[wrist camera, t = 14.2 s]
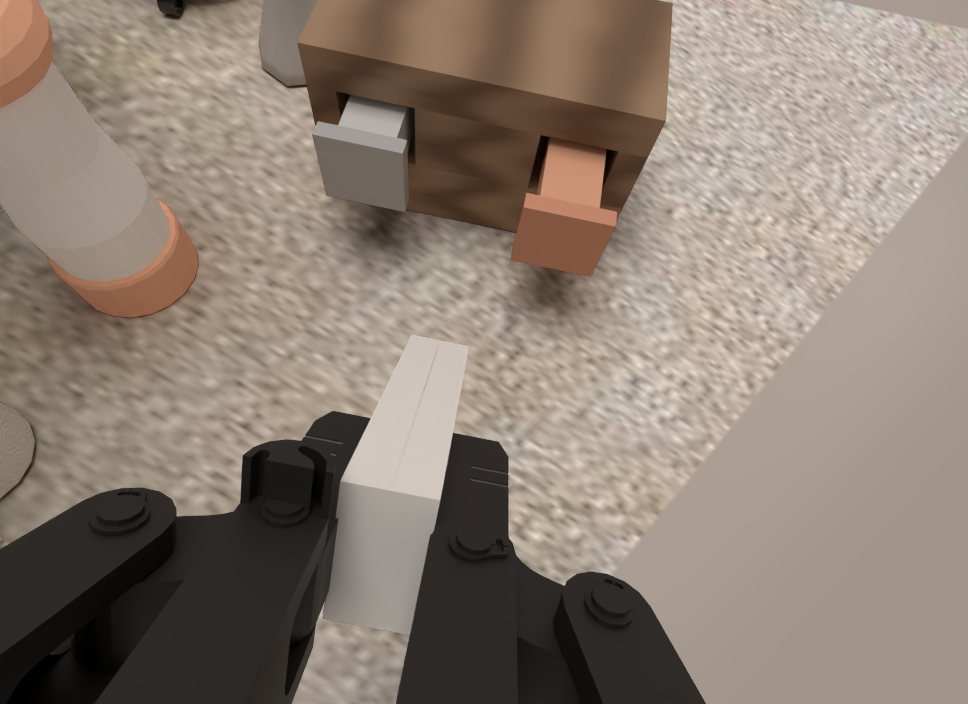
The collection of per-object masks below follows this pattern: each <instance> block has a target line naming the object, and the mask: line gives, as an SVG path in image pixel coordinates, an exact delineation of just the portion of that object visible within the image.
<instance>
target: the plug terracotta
mask: <svg viewBox="0 0 968 704" xmlns="http://www.w3.org/2000/svg"><path fill="white" fill-rule="evenodd" d="M606 150H607V149H605V148H600V147H595V146H591V145H586V144H581V143H576V142H572V141H567V140H562V139H558V138H553V137H548V136H547V138H546V144H545V149H544V155H543V160H542V166H541V172H540V177H539V183H538V188H537V194H536V195H535V194H530V193H526V197H525V201H524V205H523V209H522V213H521V217H520V221H519V225H518V229H517V233H516V237H515V241H514V245H513V250H512V255H511V260H512V261H517V262H522V263H527V264H532V265H536V266H541V267H546V268H551V269H556V270H560V271H565V272H570V273H575V274H579V275H584V276H589V277H591V275H592V273H593V271H594V269H595V267H596V265H597V263H598V261H599V259H600V257H601V255H602V253H603V251H604V249H605V247H606V245H607V243H608V241H609V239H610V237H611V235H612V233H613V231H614V229H615V227H616V219H617V212H615V211H611V210H606V209H601V208H600V201H601V193H602V184H603V175H604V167H605V158H606Z"/></svg>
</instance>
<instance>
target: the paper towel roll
mask: <svg viewBox="0 0 968 704" xmlns="http://www.w3.org/2000/svg"><path fill="white" fill-rule="evenodd" d="M34 445H35V439H34V436H33V433H32V430H31V427H30V424H29V422H28V421H27V420H26V419H25V418H24V417H22V416H21V415H20V414H19V413H18V412H17V411H16V410H15V409H13V408H11V407H9V406H7V405H5V404H3V403H1V402H0V498H1V497H3V496H4V495H5V494H6V493H7V492H8V491H9V490H11V489H12V488H13V487H14V486H15V485H16V484H17V483H18V482H20V480H21V478H22V477H23V475H24V473H25V472H26V470H27V468H28V467H29V465H30V463H31V462H32V457H33V451H34ZM2 540H3V539H2V538H1V537H0V541H2Z"/></svg>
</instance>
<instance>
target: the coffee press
mask: <svg viewBox="0 0 968 704" xmlns="http://www.w3.org/2000/svg"><path fill="white" fill-rule="evenodd" d="M157 3H158V7H159V9H160V11H161V12H162V13H164V14H169V15H175V16H182V14H183V11H184V0H157Z"/></svg>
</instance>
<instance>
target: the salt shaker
mask: <svg viewBox="0 0 968 704" xmlns="http://www.w3.org/2000/svg"><path fill="white" fill-rule="evenodd" d="M0 205H1V206H2V208H3V209H4V211H5V212H6V213H7V215H8V216H9V218H10V219H11V220H12V222H13V223H14V225H15V226H16V227H17V229H18V230H19V231H20V232H21V233H22V234H24V235H25V236H26V237H27V238H28V239H29V240H30V241H32V242H33V243H34V244H35V245H36V246H37V247H38V248H39V249H41V250H42V251H43V252H44V253H45V254H46V255H47V257H48V259H49V262H50V264H51V266H52V268H53V270H54V272H55V273H56V274H57V275H58V276H60V277H61V278H62V279H63V280H64V281H65V282H66V283H67V284H68V285H69V286H70V287H72V288H73V289H74V290H75V291H76V292H77V293H78V294H79V295H80V296H81V297H82V298H84V299H85V300H86V301H87V302H88V303H89V304H90V305H92V306H93V307H94V308H95V309H96V310H98V311H101V312H103V313H106V314H109V315H112V316H117V317H138V316H143V315H148V314H153V313H155V312H157V311H159V310H161V309H163V308H165V307H168V306H170V305H171V304H172V303H174V302H175V301H176V300H177V299H178V298H180V297H181V296H182V295H183V294H185V292H186V291H187V289H188V288H189V286H190V285H191V283H192V282H193V281H194V279H195V275H196V271H197V268H198V258H197V250H196V249H195V247H194V245H193V244H192V242H191V240H190V238H189V237H188V235H187V234H186V232H185V230H184V229H183V227H182V226H181V224H180V223H179V221H178V219H177V218H176V216H175V215H174V213H173V211H172V210H171V208H170V207H169V206H168V205H166V204H165V203H164V202H162V201H161V200H160V199H159V198H157V197H155V195H154V193H153V192H152V190H151V188H150V187H149V185H148V183H147V182H146V180H145V178H144V177H143V175H142V173H141V172H140V170H139V168H138V167H137V166H136V165H135V164H134V163H133V162H132V161H131V160H130V159H129V157H128V156H127V155H126V154H125V153H124V152H123V151H122V150H121V149H120V148H119V147H118V146H117V145H116V144H115V143H114V142H113V141H112V139H111V138H110V137H109V136H108V135H107V134H106V133H105V132H104V131H103V130H102V129H101V128H100V127H99V126H98V125H97V124H96V123H95V122H94V120H93V119H92V118H91V116H90V115H89V114H88V112H87V111H86V109H85V108H84V106H83V105H82V103H81V102H80V100H79V99H78V97H77V96H76V95H75V93H74V92H73V90H72V89H71V87H70V86H69V84H68V83H67V81H66V80H65V79H64V77H63V76H62V74H61V73H60V71H59V70H58V68H57V67H56V65H55V64H54V63H53V42H52V32H51V28H50V24H49V20H48V18H47V16H46V15H45V13H44V11H43V9H42V8H41V6H40V4H39V3H38V2H37V1H36V0H0Z"/></svg>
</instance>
